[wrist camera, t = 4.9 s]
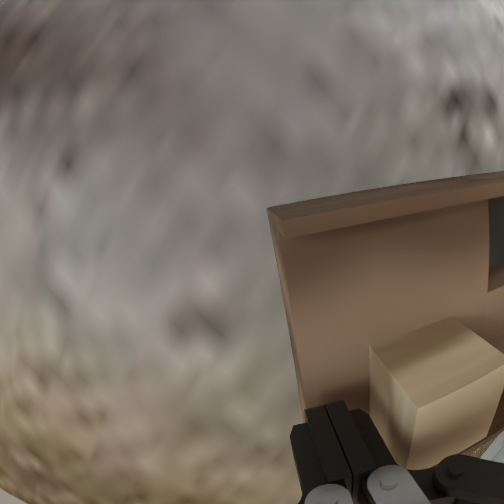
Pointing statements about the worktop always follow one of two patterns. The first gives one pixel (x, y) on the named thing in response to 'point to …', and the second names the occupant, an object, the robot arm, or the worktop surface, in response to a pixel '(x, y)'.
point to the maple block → (434, 391)
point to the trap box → (388, 276)
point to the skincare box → (495, 450)
